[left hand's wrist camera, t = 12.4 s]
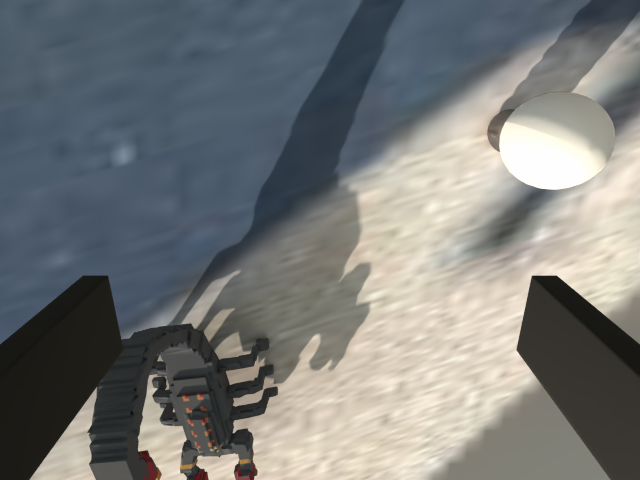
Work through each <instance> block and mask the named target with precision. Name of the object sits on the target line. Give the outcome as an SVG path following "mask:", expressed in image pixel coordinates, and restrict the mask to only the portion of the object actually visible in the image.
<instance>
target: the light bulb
mask: <svg viewBox="0 0 640 480" xmlns="http://www.w3.org/2000/svg"><path fill="white" fill-rule="evenodd" d="M488 140H489V142H490V144H491V145H492V146H493V148H494V149H496V150H497V151H499V152H500V154H501V157H502V160H503V162H504V164H505V165H506V167H507V168H508V170H509V171H510V172H511V173H512V174H513V175H514V176H515V177H516V178H518V179H519V180H521V181H523V182H524V183H526V184H529V185H532V186H535V187H538V188H543V189H565V188H568V187H572V186H575V185H579V184H581V183H583V182H585V181H587V180H589V179H590V178H592V177H593V176H594V175H596V174H597V173H598V172H599V171H600V170H601V169H602V168H603V167H604V166H605V164H606V163H607V162H608V160H609V158H610V157H611V154H612V152H613V149H614V143H615V130H614V126H613V122H612V120H611V119H610V117H609V115H608V114H607V112H606V111H605V110H604V109H603V108H602V107H601V106H600V105H599V104H598V103H596V102H595V101H593V100H591V99H590V98H588V97H586V96H583V95H580V94H576V93H570V92H554V93H546V94H542V95H539V96H536V97H534V98H532V99H530V100H528V101H526V102H524V103H523V104H521V105H520V106H519V107H517V108H516V109H515V110H505V111H503V112H500V113H499V114H497V115H496V116H495V117H494V118H493V119H492V121H491V122H490V124H489V127H488Z"/></svg>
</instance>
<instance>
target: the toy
mask: <svg viewBox="0 0 640 480" xmlns="http://www.w3.org/2000/svg"><path fill="white" fill-rule="evenodd" d="M122 345H123V351H122V353H121V354H120V356H119V357H118V358H117V360H116V361H115V362H114V364H113V365H112V367H111V368H110V369H109V371H108V372H107V373H106V375H105V376H104V378H103V379H102V380H101V382H100V383H99V384H98V386H97V398H96V402H95V406H94V413H93V419H92V425H91V427H90V429H89V431H88V432H87V433H90V434H89V437H90V439H91V441H92V442H91V444H90V450H91V454H92V460H91V462H90V463H89V465H90V467H91V470H92V472H93V474H94V476H95V478H96V480H160V477H161V475H162V474H161V472H160V470H159V469H158V467H156V465H155V463H154V461H153V460H152V458H151V457H150V456H149V453H148V450H147V451H140V452H138V442H139V441H138V438H137V437H138V436H139V433H140V425H141V422H142V418H143V416H142V411H143V407H144V402H145V398H146V392H147V384H148V382H147V381H148V377H149V375H153V374H158V376H161V375H167V379H168V383H169V388H170V390H165V389H166V387H167V385H166V379H165V377H156V378H153V380H152V383H153V386H154V388H158V389H157V390H156V392H155V393H154V394H153V395H152V396H153V398H154V401H155V402H156V403H160V407H161V408H165V409H164V411H163V413H162V415H161V417H160V421H161V423H162V424H163V425H168V426H183V429H184V432H185V435H186V438H187V440H186V442H184V445H183V449H182V451H183V452H182V457H181V464H180V473H184V474H185V475H186V476H187V480H208V474H207V472H205V470H204V469H200V468H199V467H198V466H196V463H197V461H198V460H197V457H198V456H200V455H202V456H219V457H220V456H221V455H226V454H232V453H236V454H238V455H239V463H238V464H237V465H236V466H235V470H234V475H235V478H236V480H254V476H256V475H257V469H256V468H255V464H254V463H253V460H252V459H253V455H254V453H253V448H252V445H253V436H252V433H251V432H249V431H248V429H241V430H237V431H236V432H235V433H233V428H234V426H233V422H234V420H239V419H244V418H249V417H254V416H258V415H261V414H264V413H265V410H266V407H267V404H268V400H269V397H273V396H276V395H278V388H277V387H272V388H267V389H265V390H264V392H263V396H262V399H261V400H260V401H259V402H258V403H252V404H247V405H241V406H237V407H235V406H233V403H234V400H233V398H240V397H242V396H244V395H246V394H254V393H256V392H258V391H260V390H262V389H263V384H264V379H265V376H267V375H270V374H273V372H274V368H273V366H264V367H260V369H259V373H258V378H255V379H254V381H246V382H241V383H235V384H232V385H229V381H228V378H227V374H226V371H228V370H235V369H241V368H247V367H252V366H254V363H255V361H256V359H257V355H258V353H259V352H260V351H264V350H267V349H268V348H269V344H268V339H261V340H257V345H255V346H253V348H252V351H251V354H247V355H241V356H238V357H233V358H224V359H220V360H219V358H218V356H217V355H216V353H215V352H214V350H213V349H212V347H211V346H210V344H209V342H208V340H207V338H206V336H205V334H204V332H203V331H198V330H196V329H194V328H193V326H192V324H182V325H172V326H162V327H157V328H150V329H146V330H142V331H138V332H134V334H133V335H132V336H131V338H130V339H122ZM159 355H161V358H162V360H163V361H164V362H162V361H159V362H157V360H158V358H159ZM173 408H174V410H175V412H173Z"/></svg>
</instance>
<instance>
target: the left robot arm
mask: <svg viewBox="0 0 640 480" xmlns="http://www.w3.org/2000/svg"><path fill="white" fill-rule="evenodd" d="M122 351H123V345H122V340H121V336H120V331H119V326H118V321H117V317H116V312H115V307H114V302H113V297H112V293H111V288H110V283H109V278H108V276H82V277H81V278H80V279H79V280H77V281H76V282H75V283H74V284H73V285H71V286H70V287H69V288H68V289H67V290H65V291H64V292H63V293H62V294H61V295H59V296H58V297H57V298H56V299H55V300H53V301H52V302H51V303H50V304H49V305H47V306H46V307H45V308H44V309H43V310H41V311H40V312H39V313H38V314H36V315H35V316H34V317H33V318H32V319H30V320H29V321H28V322H27V323H26V324H24V325H23V326H22V327H21V328H20V329H18V330H17V331H16V332H15V333H14V334H12V335H11V336H10V337H9V338H8V339H6V340H5V341H4V342H3V343H1V344H0V480H29V479H30V478H31V477H32V475H33V474H34V473H35V471H36V470H37V468H38V467H39V466H40V464H41V463H42V462H43V460H44V459H45V457H46V456H47V455H48V453H49V452H50V450H51V449H52V448H53V446H54V445H55V444H56V442H57V441H58V439H59V438H60V437H61V435H62V434H63V433H64V431H65V430H66V428H67V427H68V426H69V424H70V423H71V422H72V420H73V419H74V417H75V416H76V415H77V413H78V412H79V411H80V409H81V408H82V406H83V405H84V404H85V402H86V401H87V400H88V398H89V397H90V395H91V394H92V393H93V391H94V390H95V389H96V387H97V386H98V384H99V383H100V382H101V380H102V379H103V378H104V376H105V375H106V373H107V372H108V371H109V369H110V368H111V367H112V365H113V364H114V362H115V361H116V360H117V358H118V357H119V356H120V354H121V353H122ZM517 351H518V353H519V354H520V356H521V357H522V358H523V360H524V361H525V362H526V364H527V365H528V367H529V368H530V369H531V371H532V372H533V373H534V375H535V376H536V378H537V379H538V380H539V382H540V383H541V384H542V386H543V387H544V389H545V390H546V391H547V393H548V394H549V395H550V397H551V398H552V400H553V401H554V402H555V404H556V405H557V406H558V408H559V409H560V411H561V412H562V413H563V415H564V416H565V417H566V419H567V420H568V422H569V423H570V424H571V426H572V427H573V428H574V430H575V431H576V433H577V434H578V435H579V437H580V438H581V439H582V441H583V442H584V444H585V445H586V446H587V448H588V449H589V450H590V452H591V453H592V455H593V456H594V457H595V459H596V460H597V461H598V463H599V464H600V466H601V467H602V468H603V470H604V471H605V472H606V474H607V475H608V477H609V478H610V479H611V480H640V344H638V343H637V342H636V341H635V340H634V339H632V338H631V337H630V336H629V335H628V334H626V333H625V332H624V331H623V330H622V329H620V328H619V327H618V326H617V325H616V324H614V323H613V322H612V321H611V320H610V319H608V318H607V317H606V316H605V315H604V314H602V313H601V312H600V311H599V310H597V309H596V308H595V307H594V306H593V305H591V304H590V303H589V302H588V301H587V300H585V299H584V298H583V297H582V296H581V295H579V294H578V293H577V292H576V291H575V290H573V289H572V288H571V287H570V286H569V285H567V284H566V283H565V282H564V281H562V280H561V279H560V278H559V277H558V276H532V278H531V283H530V288H529V293H528V297H527V302H526V307H525V312H524V317H523V321H522V326H521V331H520V336H519V340H518V345H517Z"/></svg>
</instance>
